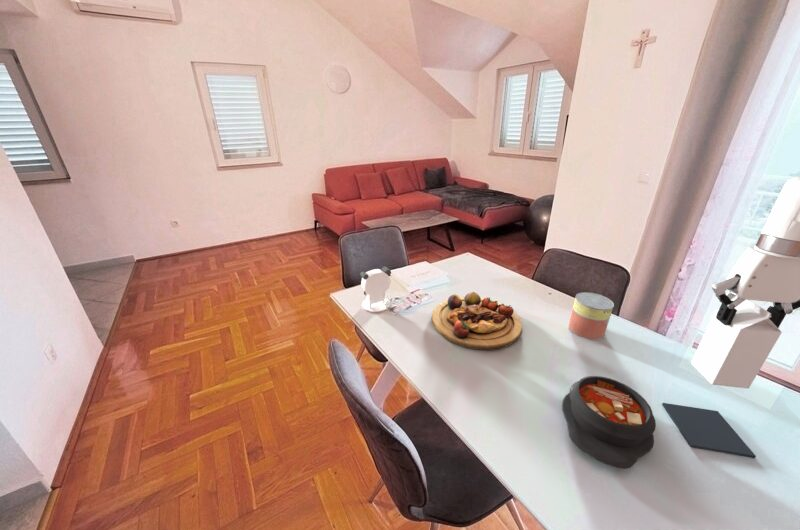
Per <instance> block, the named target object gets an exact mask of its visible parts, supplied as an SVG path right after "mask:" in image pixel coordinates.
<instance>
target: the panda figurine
mask: <svg viewBox="0 0 800 530" xmlns="http://www.w3.org/2000/svg"><path fill="white" fill-rule="evenodd" d="M391 274H392V271H391V270H390V269H389V268H388V267H386V266H382V268H381V269H380V268H374V269H370V270H368V271H360V273H359V275H360V277H361V281H360V286H361V289H362V290H363V295H364V296H365V299H364V300H363V301H362V302H361V308H362V309H363V310H364V311H366V312H369V313H380V312H384V311H386V310H387V309H388V308H386V305H385V304H386V302H387V301H389V302H390V300H389V298H388V299H387V298H386V292H387V291H388V289H389V288H390V287H391V282H392V281H391V278H390V275H391Z"/></svg>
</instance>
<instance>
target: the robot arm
mask: <svg viewBox="0 0 800 530" xmlns="http://www.w3.org/2000/svg"><path fill="white" fill-rule="evenodd" d="M711 289H712V291H713V293H714V294H715V297H716V298H717V300H718V301H719V302H720V303H721V304H720V307H719V308H718V309H719V310H718V312H717V316H716V318H717V319H718V320H719V321H720V322H721V323H723V324H724V325H726V326H729V325H730V324H731V322H732V320H733V318H734V316H735V314H736V312H737V310H736V309H735V307H736V306H738V305H739V304H741V303H742V302H743V301H745V300H749V301H755V302H756V301H757V302H769V303H772V305H773V306H771V305H769V306H768V307H767V309H766V311H768V312H770V313H771V316H772V317H771V318H769V319H770V320H771V321H772V322H773V323H774V324H775V325H776V327H777V328H778V329H780V326H781V324H782V322H783V321H784V320H785V317H786V315H791V314H793V312H794V310H797V309H800V176H797V177H793V178H791V179H789V180H787V181H786V182H785V183H784V185H783V187H782V189H781V191H780V193H779V195H778V197H777V199H776V201H775V203H774V205H773V207H772V209H771V212H770V214H769V215H768V217H767V220H766V221H765V224H764V226H763V227H762V230H761V232H760V233H759V237H758V238H757V241H756V243H755V244H754V246H749V247H748V248H747V249H746V250H745V251H744V252H743V253H742V255H741V256H740V257H739V258H738V259H737V261H736V263H735V264H734V265H733V268H732V269H731V270H730V272H729V274H728V276H727V278H726V279H725V280H723V281H721V282H718V283H715V284H713V285H712V286H711ZM726 291H728V292H727V293H726Z"/></svg>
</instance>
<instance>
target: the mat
mask: <svg viewBox="0 0 800 530" xmlns="http://www.w3.org/2000/svg"><path fill="white" fill-rule="evenodd" d="M662 407H663V408H664V410H665V411H666V412H667V414H668V416H669V417H670V419H671V420H672V422H673V423H674V424H675V426H676V428H677V429H678V428H679V429H678V431H679V432H680V433H681V435H682V436H683V438H684V439H685V441H686V443H687V444H688V446H689V447H690V448H695V449H701V450H706V451H712V452H718V453H724V454H730V455H734V456H740V457H741V456H742V457H746V458H752V459H755V458H757V455H756V454H755V453H754V452H753V451H752V450H751V448H750V447H749V446H748V445H747V444H746V443H745V441H744V440H743V439H742V438H741V436H740V435H739V434H738V433H737V432H736V430H735V429H734V428H733V427H732V426H731V425H730V424H729V423H728V421H727V420H726V419H725V418H724V417H723V415H722V414H721V413H720V412H719V411H718V410H714V409H707V408H701V407H693V406H688V405H680V404H674V403H667V402H662Z"/></svg>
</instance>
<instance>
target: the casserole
mask: <svg viewBox="0 0 800 530" xmlns="http://www.w3.org/2000/svg"><path fill="white" fill-rule="evenodd" d="M561 409H562V414H563V416H564V418H565V421H566V425H567V433H568V437H569V438H570V441H572V443H573V444H574V445H575V446H577V448H578V449H580V450H581V451H582V452H584V453H585V454H586V455H588V456H590V457H591V458H593V459H595V460H596V461H598V462H600V463H603V464H605V465H607V466H611V467H613V468H618V469H623V470H625V469H631V468H632V467H633V466H634V465H635V464H636V463H637V461H638V460H639V459H640V458H642V457H643V456H645V455H647V454H648V453H650V452H651V450H652V449H653V447H654V443H655V439H654V438H655V437H654V433H655V431H656V427H657V423H656V419H655V416H654V413H653V410H652V407H651V406H650V403H648V402H647V400H646V399H645V398H644V397H643V396H642V395H641V394H640V393H639V392H638V391H636V390H635V389H633V388H631V387H630V386H629V385H627V384H624V383H623V382H621V381H619V380H616V379H613V378H610V377H606V376H601V375H589V376H584V377H582V378H580V379H579V380H578V381H577V380H576V381H575V382H574V383H573V384H572V385H571V386H570V388H569V392H568V393H566V395H565V396H564V397H563V399H562V403H561Z"/></svg>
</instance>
